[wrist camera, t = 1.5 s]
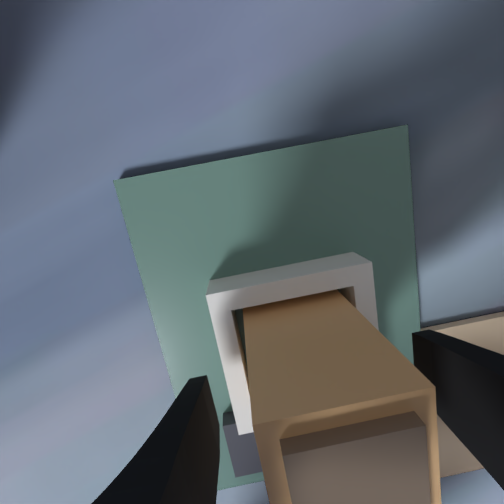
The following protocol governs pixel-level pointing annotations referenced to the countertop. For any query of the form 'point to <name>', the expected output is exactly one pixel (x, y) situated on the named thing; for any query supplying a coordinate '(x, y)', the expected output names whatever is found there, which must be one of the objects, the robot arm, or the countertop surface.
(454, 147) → the countertop surface
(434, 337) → the robot arm
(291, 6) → the countertop surface
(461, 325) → the cork pad
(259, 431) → the plug
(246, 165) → the header board
